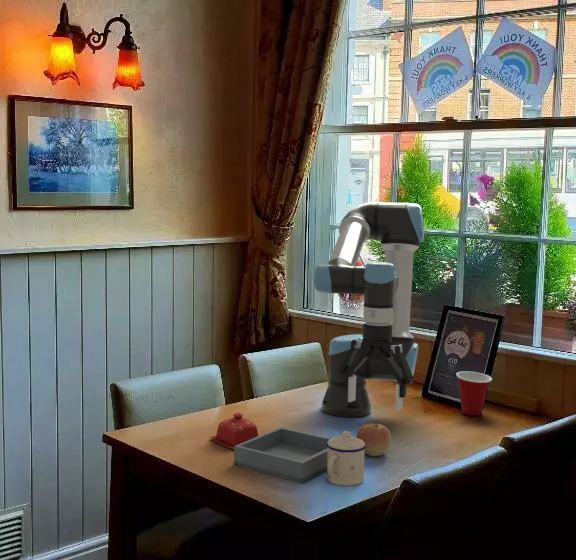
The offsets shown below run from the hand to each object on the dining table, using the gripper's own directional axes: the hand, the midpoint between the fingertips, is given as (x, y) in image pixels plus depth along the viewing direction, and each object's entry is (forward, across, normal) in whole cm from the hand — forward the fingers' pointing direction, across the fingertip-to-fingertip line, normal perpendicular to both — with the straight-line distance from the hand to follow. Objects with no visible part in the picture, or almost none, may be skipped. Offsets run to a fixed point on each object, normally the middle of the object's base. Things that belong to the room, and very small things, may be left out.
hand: (374, 405), depth 209 cm
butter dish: (+14, -33, -14) cm, 39 cm away
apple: (+13, 0, 0) cm, 13 cm away
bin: (+13, -13, -18) cm, 26 cm away
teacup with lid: (+14, +3, -22) cm, 26 cm away
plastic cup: (+12, +6, +54) cm, 55 cm away
